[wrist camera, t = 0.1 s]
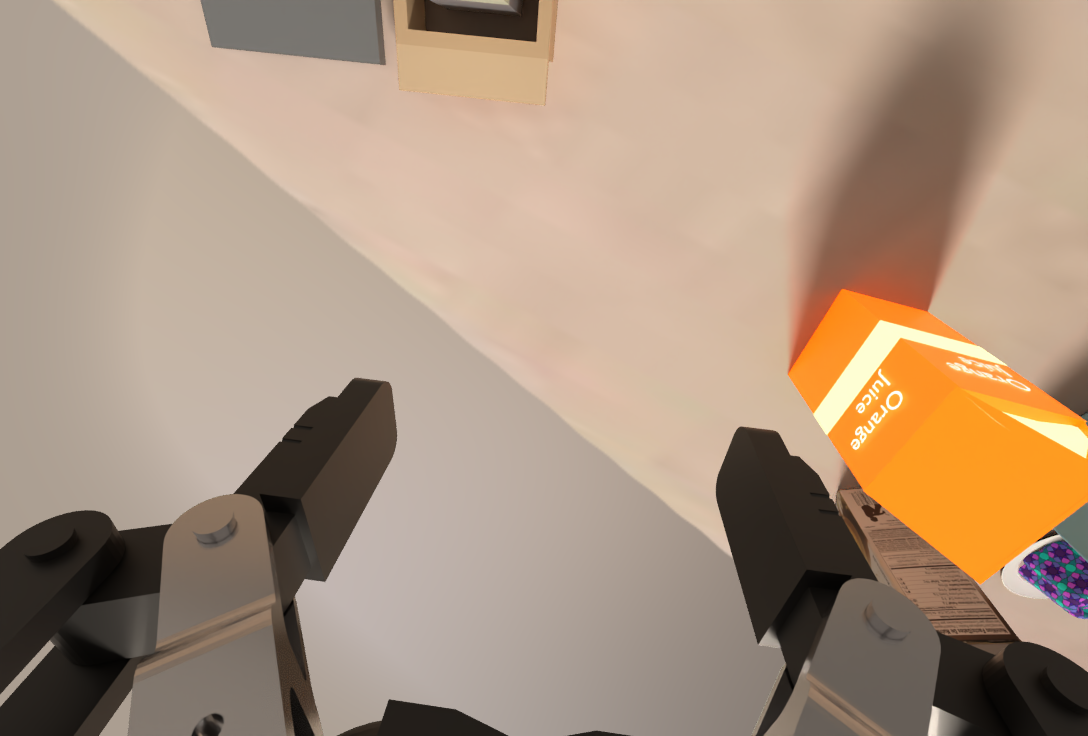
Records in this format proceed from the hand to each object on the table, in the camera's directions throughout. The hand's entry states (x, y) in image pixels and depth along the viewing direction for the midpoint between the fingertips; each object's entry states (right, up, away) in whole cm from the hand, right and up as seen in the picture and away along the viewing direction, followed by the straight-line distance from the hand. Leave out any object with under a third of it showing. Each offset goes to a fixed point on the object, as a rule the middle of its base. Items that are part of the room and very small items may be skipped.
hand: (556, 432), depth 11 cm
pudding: (+57, -20, +41) cm, 73 cm away
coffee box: (+35, -15, +39) cm, 55 cm away
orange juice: (+27, +4, +29) cm, 40 cm away
